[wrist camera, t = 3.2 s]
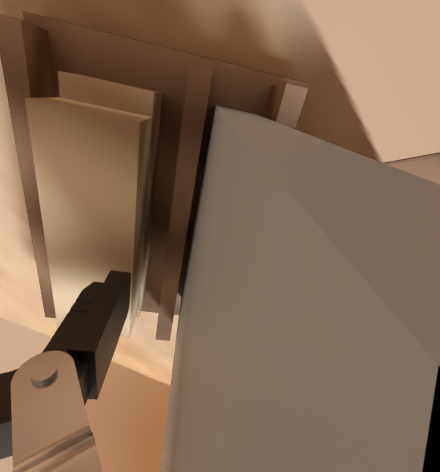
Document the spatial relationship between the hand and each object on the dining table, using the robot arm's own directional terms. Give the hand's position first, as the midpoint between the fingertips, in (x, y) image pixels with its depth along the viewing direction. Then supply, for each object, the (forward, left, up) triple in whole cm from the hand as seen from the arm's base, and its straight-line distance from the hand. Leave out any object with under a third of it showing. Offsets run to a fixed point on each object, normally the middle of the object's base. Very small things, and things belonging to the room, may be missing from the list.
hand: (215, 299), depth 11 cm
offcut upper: (0, -6, -5) cm, 8 cm away
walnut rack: (0, -3, -9) cm, 10 cm away
